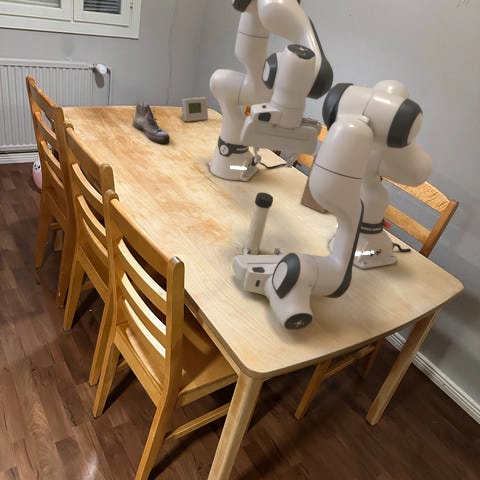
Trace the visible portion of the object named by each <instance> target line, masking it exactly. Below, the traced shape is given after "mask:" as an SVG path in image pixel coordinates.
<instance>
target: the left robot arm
mask: <svg viewBox="0 0 480 480" xmlns="http://www.w3.org/2000/svg"><path fill="white" fill-rule="evenodd" d="M230 1H231V6H232V8H233V10H235V11H237V12H240V14H241V15H240V17H239V21H238V27H237V34H236V39H235V46H234V55H235V57H236V59H237V60H238V62H240V63H241V65H243V66H244V68H245V69H246V73H244V72H241V71H237V70H233V69H228V68H227V69H225V68H218V69H216V70H215V71H214V72H213V73H212V75H211V76H210V79H209V90H210V92H211V94H212V96H213V97H214V98H215V100H216V101H217V103H218V105H219V108H220V111H221V127H220V135H219V136H218V139H217V145H216V146H215V147H214V149H213V153H212V157H211V160H209V161H208V164H207V165H208V166H209V170H210V172H211V173H212V174H213V175H215V176H216V177H218V178H220V179H225V180H229V181H242V182H247V181H249V179H251V177H253V176H254V175H255V174H256V173H257V172H258V171H259V166H258V165H261V166H263V167H264V168H266V169H267V170H269V169H275V168H278V167H281V166H285V167H286V168H288V169H292V168H293V165H298V166H299V167H300V168H301V167H303V166H302V164H301V163H300V162H296V161H297V160H298V159H299V158H300V156H301V155H303V156H304V155H305V156H313V155H315V153H316V151H317V145H318V141H319V140H318V139H319V136H320V135H321V133H322V129H323V125H322V123H321V122H320V121H319V120H318V119H312V118H308V117H304V115H305V114H304V113H305V110H306V105H307V99H311V100H316V101H317V100H319V99H320V98H323V97H324V96H325V95H327V94H328V92H329V90H330V89H331V88H332V87H333V83H334V70H333V67H332V65H331V64H330V63H331V62H329V60H328V58H327V57H326V54H325V52H324V49H323V47H322V44H321V40H320V37H319V35H318V32H317V30H316V27H315V25H314V22H313V21H312V19H311V18H310V17H309V16H308V15H307V13H306V12H305V11H304V10H303V9H302V7H301V1H302V0H230ZM271 34H273V35H275V36H278V37H280V38H282V39H284V40H288V41H290V42H291V44H288V45H286V46H285V47H284V49H283V51H279V52H273V53H272V54H270V55H269V56H267V54H268V45H269V42H270V41H269V40H270V37H271ZM292 43H293V44H292ZM241 106H243V107H247V108H250V111H249V113H250V114H249V115H248V116H247V114H245V113H244V112H243V110H242V108H241ZM250 147H251V148H252V151H253V153H254V154H253V153H252V152H251V151H250ZM260 149H264V150H270V151H277V152H283V153H290V154H291V153H292V156H291V158H289V159H288V158H287V159H286V161H285V163H280V164H276V165H272V166H267V165H266V163H263V162H261V161H262V156H261V155H259V154H258V152H260Z"/></svg>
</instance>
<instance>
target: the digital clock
mask: <svg viewBox="0 0 480 480" xmlns="http://www.w3.org/2000/svg"><path fill="white" fill-rule="evenodd" d="M181 112H182V114H181V118H182V121H183V122H190V123H191V122H199V121H201V122H202V121H203V120H208V119H209V110H208V99H207V97H206V96H200V97H199V96H197V97H187V98H182V99H181Z"/></svg>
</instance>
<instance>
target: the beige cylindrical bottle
mask: <svg viewBox="0 0 480 480" xmlns="http://www.w3.org/2000/svg"><path fill="white" fill-rule="evenodd" d="M270 209H271V207H270V208H262V207H259V206H257V205H256V204H255V203H254V208H253V212H252V216H251V221H250V225H249V229H248V233H247V237H246V241H245V245H244V248H250V250H251V252H250V255H259V251H260V247H261V243H262V240H263V235H264V232H265V228H266V225H267V221H268V217H269V213H270Z"/></svg>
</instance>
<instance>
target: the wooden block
mask: <svg viewBox="0 0 480 480" xmlns="http://www.w3.org/2000/svg"><path fill="white" fill-rule="evenodd" d="M317 154H318V153H316V154H314V156H313V160H312V163H311V166H310V168H309V169H310V170H309V173H308V177H307V179H306V182H305V186H304V189H303V192H302V196H301V199H300V204H302V205H303V206H305V207H307V208H309V209H310V208H311V209H312V210H315V211H317V212H319V213H322V214H324V213H326V212H327V210H326V209H325V208H323V207H322V206H321V205H319V204H318V203H317V202H316V201H315V199H314V198H313V196H312V195H311V192H310V189H309V178H310V174H311V171H312V168H313V165H314V162H315V159H316V157H317Z"/></svg>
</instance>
